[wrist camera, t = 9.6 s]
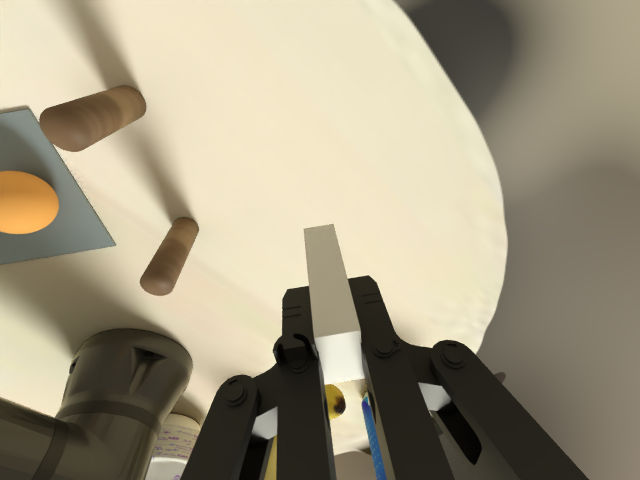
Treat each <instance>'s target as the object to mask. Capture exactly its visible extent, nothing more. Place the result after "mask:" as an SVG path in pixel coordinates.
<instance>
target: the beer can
mask: <svg viewBox="0 0 640 480" xmlns="http://www.w3.org/2000/svg"><path fill="white" fill-rule="evenodd" d="M362 409H363V414H364V419H365V424H366V429H367V433H368V438H369V443H370V448H371V453H372V458H373V462H374V467H375V472H376V477H377V480H387V478H386V474H385V469H384V465H383V461H382V456H381V452H380V447H379V443H378V439H377V434H376V430H375V425H374V421H373V416H372V412H371V408H370V405H368V395H367V392H366V393H365V395H364V399H363V401H362Z"/></svg>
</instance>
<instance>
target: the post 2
mask: <svg viewBox="0 0 640 480" xmlns="http://www.w3.org/2000/svg"><path fill="white" fill-rule="evenodd" d="M198 232H199V227H198V225H197V223H196V222H195V221H194V220H192V219H190V218H186V217H181V218H178V219H177V220H175V222H174V223H173V225H172V227H171V228H170V230H169V232H168V233H167V235H166V237H165V238H164V240H163V242H162V243H161V245H160V247H159V248H158V250H157V252H156V253H155V255H154V257H153V259H152V260H151V262H150V264H149V265H148V267H147V269H146V270H145V272H144V274H143V275H142V277H141V279H140V285H141V287H142V288H143V289H144V290H145V291H146V292H148V293H150V294H153V295H157V296H163V295H167V294H169V293H170V292H172V290H173V288H174V286H175V284H176V281H177V279H178V277H179V275H180V272H181V270H182V268H183V266H184V263H185V261H186V259H187V257H188V254H189V252H190V250H191V248H192V245H193V243H194V241H195V239H196V236H197V234H198Z"/></svg>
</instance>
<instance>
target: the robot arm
mask: <svg viewBox="0 0 640 480" xmlns="http://www.w3.org/2000/svg"><path fill="white" fill-rule="evenodd" d="M304 238H305V248H306V259H307V269H308V280H309V286H305V287H299V288H293V289H287V291H286V293H285V295H284V297H283V300H282V309H283V311H282V318H283V319H282V336H281V337H279V339H278V340H277V341H276V343H275V344H274V348H273V353H274V356H275V359H276V362H277V363H276V364H275V365H274V366H273V367H272V368H271V369H269V370H268V371H266V372H264V373H262V374H260V375H258V376H256V377H254V378H251V377H250V376H247V375H236V376H233V377H231V378H229V379H227V380H226V381H225V382H224V383H223V384H222V385H221V386H220V388H219V389H218V391H217V393H216V395H215V397H214V400H213V402H212V404H211V407H210V409H209V412H208V414H207V416H206V419H205V421H204V423H203V426H202V428H201V431H200V433H199V435H198V438H197V440H196V442H195V445H194V447H193V450H192V452H191V454H190V457H189V459H188V461H187V464H186V466H185V469H184V471H183V473H182V476H181V478H180V480H264V478H265V474H266V470H267V466H268V461H269V457H270V453H271V449H272V445H273V440H274V436H275V435H277V460H276V480H337V479H336V471H335V463H334V453H333V445H332V436H331V428H330V419H329V411H328V402H327V397H326V392H325V385H327V384H333V383H339V382H345V381H351V380H357V379H363V378H365V380H366V385H367V395H368V405H370V408H371V412H372V416H373V421H374V425H375V430H376V434H377V439H378V443H379V447H380V452H381V456H382V461H383V465H384V469H385V474H386V478H387V480H455V479H454V476H453V474H452V471H451V469H450V466H449V463H448V460H447V458H446V455H445V453H444V450H443V447H442V445H441V442H440V439H439V437H438V434H437V431H436V429H435V426H434V423H433V421H432V418H431V416H430V413H429V411H430V412H431V414H432V415H433V417H434V418H435V420H436V422H437V423H438V425H439V426H440V428H441V429H442V431H443V432H444V434H445V436H446V437H447V439H448V440H449V442H450V443H451V445H452V446H453V448H454V450H455V451H456V453H457V454H458V456H459V457H460V459H461V460H462V462H463V464H464V465H465V467H466V468H467V469H468V471H469V473H470V475H471V476H472V477H473V479H474V480H589V479H588V478H587V477H586V476H585V475H584V474H583V472H582V471H581V470H580V469H579V468H578V467H577V466H576V465H575V464H574V463H573V462H572V460H571V459H570V458H569V457H568V456H567V455H566V454H565V453H564V452H563V450H562V449H561V448H560V447H559V446H558V445H557V444H556V443H555V442H554V441H553V439H552V438H551V437H550V436H549V435H548V434H547V433H546V432H545V431H544V430H543V429H542V427H541V426H540V425H539V424H538V423H537V422H536V421H535V420H534V419H533V418H532V416H531V415H530V414H529V413H528V412H527V411H526V410H525V409H524V408H523V407H522V405H521V404H520V403H519V402H518V401H517V400H516V399H515V398H514V397H513V396H512V394H511V393H510V392H509V391H508V390H507V389H506V388H505V387H504V386H503V385H502V383H501V382H500V381H499V380H498V379H497V378H496V377H495V376H494V375H493V374H492V373H491V371H490V370H489V369H488V368H487V367H486V366H485V365H484V364H483V363H482V362H481V360H480V359H479V358H478V357H477V356H476V355H475V354H474V353H473V352H472V351H471V350H470V349H469V348H468V347H467V346H465V345H464V344H462V343H460V342H457V341H453V340H444V341H439V342H438V343H436V344H435V345H434V346H433V348H428V347H420V346H415V345H411V344H409V343H406V342H405V341H403V340H402V339H400V338H399V336H398V335H397V334H396V332H395V331H394V328H393V326H392V323H391V320H390V318H389V315H388V312H387V309H386V307H385V304H384V302H383V299H382V296H381V294H380V290H379V288H378V285H377V283H376V282H375V281H374V280H373V279H372V278H371V277H370V276H369V275H368V276H362V277H356V278H350V279H347V275H346V271H345V267H344V263H343V259H342V255H341V252H340V248H339V244H338V240H337V236H336V232H335V228H334V224H330V225H324V226H318V227H312V228H306V229H304ZM192 369H193V364H192V360H191V358H190V356H189V354H188V353H187V352H186V350H185V349H184V348H182V347H181V346H180V345H179V344H177V343H176V342H174V341H172V340H170V339H168V338H166V337H164V336H161V335H158V334H155V333H152V332H148V331H142V330H133V329H119V330H110V331H106V332H102V333H99V334H96V335H94V336H92V337H91V338H89V339H88V340H86V341H85V342H84V343H83V345H82V346H81V347H80V349H79V351H78V352H77V354H76V355H75V357H74V358H73V360H72V362H71V365H70V371H69V373H70V375H69V377H68V380H67V384H66V387H65V391H64V396H63V400H62V404H61V408H60V410H59V411H58V413H57V415H56V417H55V418H53V417H52V416H49V415H46V414H44V413H41V412H38V411H36V410H33V409H31V408H28V407H25V406H23V405H20V404H17V403H15V402H12V401H9V400H7V399H4V398H1V397H0V480H145V479H146V476H147V473H148V469H149V466H150V463H151V460H152V457H153V453H154V450H155V447H156V444H157V440H158V437H159V434H160V431H161V428H162V425H163V423H164V421H165V420H166V418H167V417H168V415H169V414H170V412H171V410H172V409H173V407H174V406H175V404H176V403H177V401H178V399H179V398H180V396H181V394H182V393H183V392H184V391H185V389H186V388H187V386H188V383H189V380H190V376H191V373H192Z"/></svg>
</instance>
